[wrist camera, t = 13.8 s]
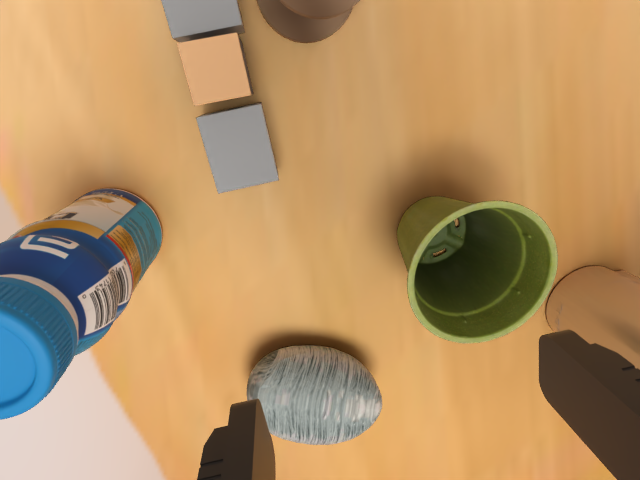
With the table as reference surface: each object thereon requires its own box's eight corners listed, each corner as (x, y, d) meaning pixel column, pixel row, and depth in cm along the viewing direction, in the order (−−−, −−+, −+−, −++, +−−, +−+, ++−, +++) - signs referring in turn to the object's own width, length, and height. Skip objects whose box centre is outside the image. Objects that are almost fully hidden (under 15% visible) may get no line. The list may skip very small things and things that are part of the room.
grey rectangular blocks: (224, -54, 32) (218, -76, 27) (277, 169, 38) (278, 180, 34) (159, -42, 31) (143, -62, 27) (223, 181, 38) (218, 193, 33)
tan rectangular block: (242, 43, 34) (236, 32, 27) (253, 93, 35) (250, 95, 29) (193, 52, 34) (176, 43, 27) (207, 102, 35) (194, 106, 29)
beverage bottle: (130, 288, 40) (12, 463, 21) (48, 235, 37) (-169, 382, 19) (184, 225, 38) (108, 353, 20) (102, 165, 36) (-74, 248, 17)
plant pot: (430, 146, 39) (491, 167, 28) (507, 221, 43) (587, 264, 32) (347, 239, 41) (376, 291, 31) (427, 303, 45) (478, 368, 34)
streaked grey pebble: (225, 424, 43) (259, 465, 34) (243, 331, 44) (280, 347, 35) (337, 426, 49) (390, 460, 40) (349, 344, 50) (403, 360, 42)
